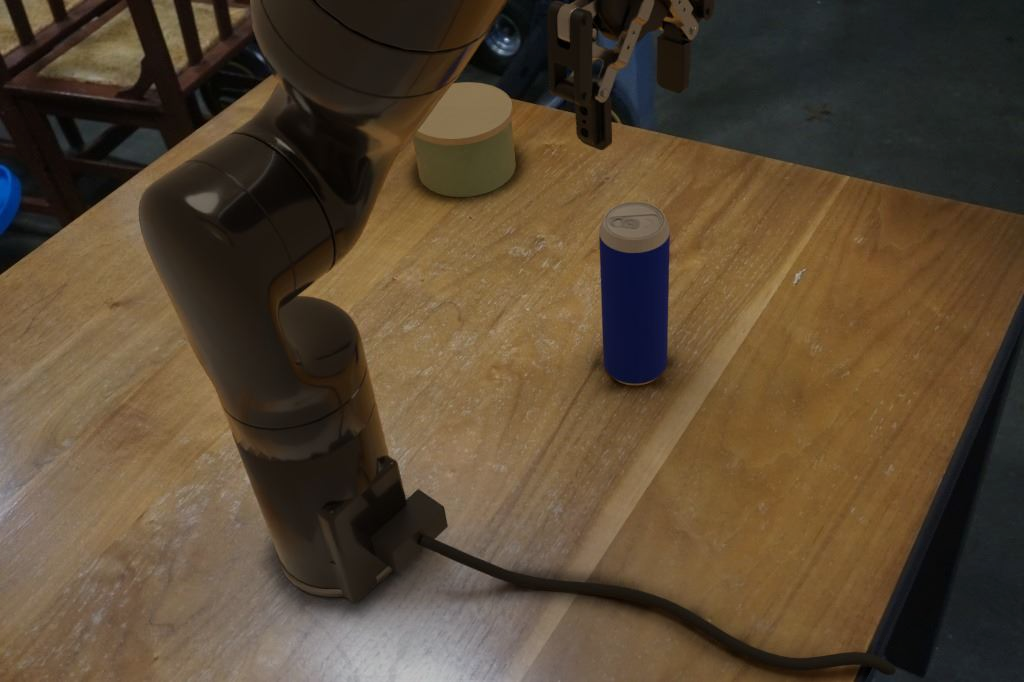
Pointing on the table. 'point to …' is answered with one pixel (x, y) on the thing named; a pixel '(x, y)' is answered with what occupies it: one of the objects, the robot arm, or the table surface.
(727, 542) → the table surface
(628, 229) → the beverage can
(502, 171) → the cookie tin
